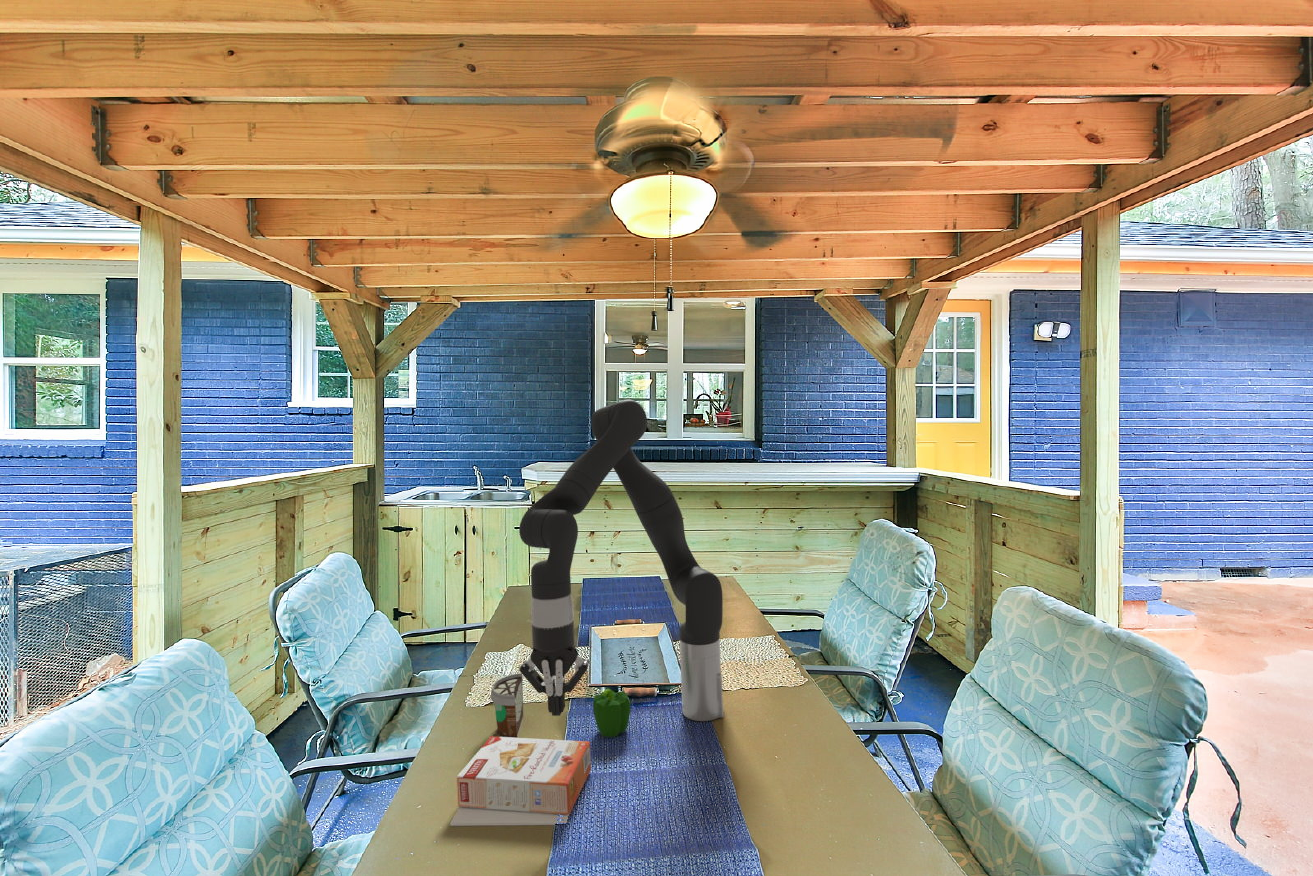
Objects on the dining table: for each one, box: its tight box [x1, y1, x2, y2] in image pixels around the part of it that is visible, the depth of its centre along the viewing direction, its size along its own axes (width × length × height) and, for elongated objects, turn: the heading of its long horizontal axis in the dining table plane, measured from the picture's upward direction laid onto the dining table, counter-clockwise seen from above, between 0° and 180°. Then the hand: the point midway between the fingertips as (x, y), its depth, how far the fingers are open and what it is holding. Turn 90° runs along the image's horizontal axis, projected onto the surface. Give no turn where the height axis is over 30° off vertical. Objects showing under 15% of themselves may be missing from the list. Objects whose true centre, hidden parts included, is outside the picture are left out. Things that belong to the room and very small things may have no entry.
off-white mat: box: [449, 806, 570, 827], centre depth 110 cm, size 20×18×1 cm
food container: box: [490, 672, 524, 738], centre depth 133 cm, size 12×6×10 cm, turn 5°
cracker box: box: [456, 735, 592, 815], centre depth 110 cm, size 14×6×21 cm
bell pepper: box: [592, 688, 632, 738], centre depth 130 cm, size 8×8×10 cm
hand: (556, 713), depth 108 cm, fingers closed
